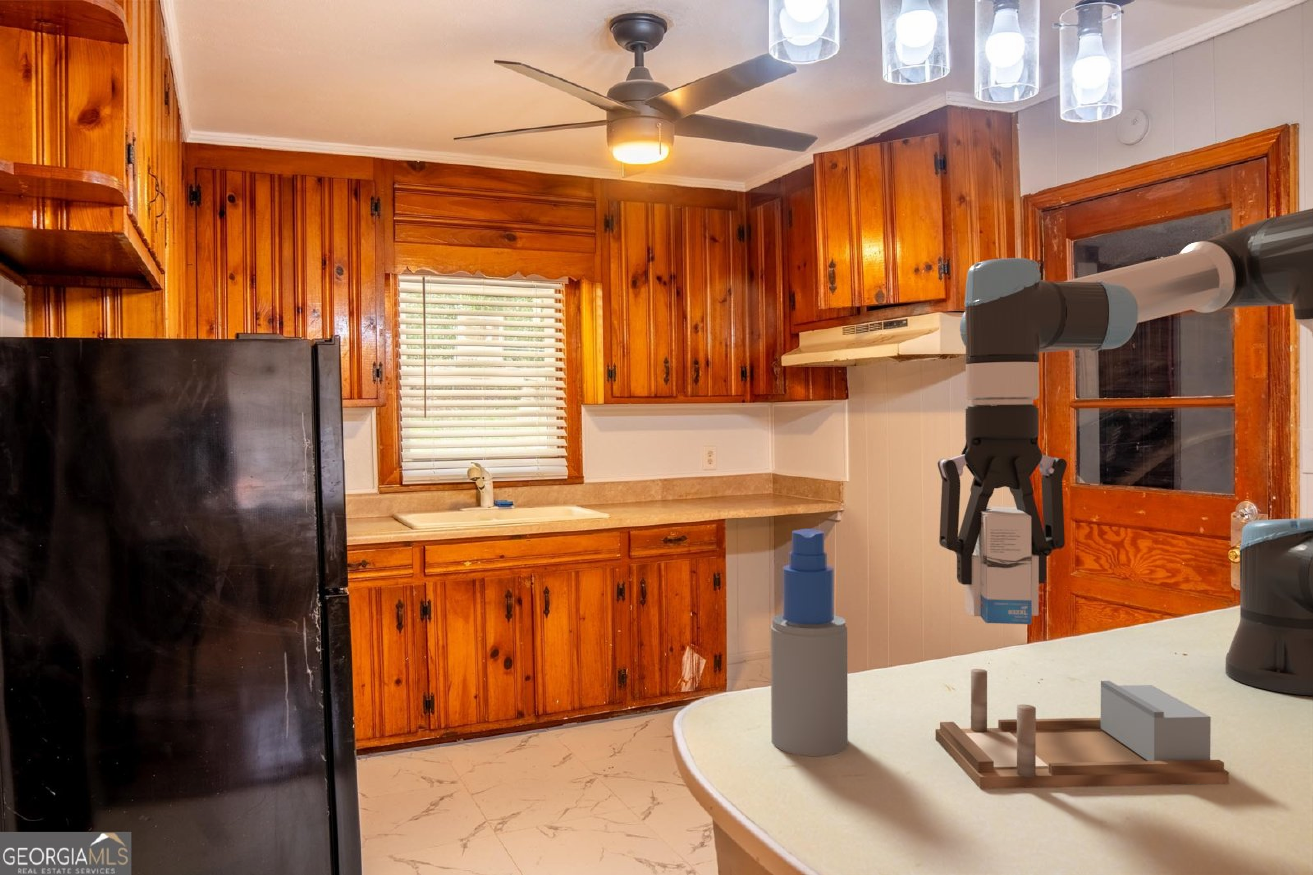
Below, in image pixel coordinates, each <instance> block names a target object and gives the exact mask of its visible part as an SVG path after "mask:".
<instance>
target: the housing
mask: <svg viewBox="0 0 1313 875" xmlns="http://www.w3.org/2000/svg"><path fill="white" fill-rule="evenodd" d="M1100 718H1101V729H1103V730H1104V731H1105V732H1107V733H1108V734H1110V735H1111V736H1113V737H1114V738H1116V739H1117V740H1119V741H1120V742H1121V743H1123V744H1124V745H1126V746H1127V747H1129V748H1130V749H1132V750H1133V751H1135V752H1136V753H1137V754H1139V755H1140V756H1142V757H1143V758H1145V759H1146V760H1148V761H1176V760H1211V729H1212V728H1211V724H1212V722H1211V721H1212V720H1211V718H1212V717H1211V716H1210V715H1208V714H1207V713H1205V712H1202V711H1201V710H1199V709H1197V708H1195V707H1193V706H1191V705H1189V704H1188V703H1186V702H1184V701H1182V700H1180V699H1178V698H1177V697H1175V696H1172V695H1171V694H1169V693H1167V692H1165V691H1163V690H1162V689H1160V688H1157V687H1156V686H1154V685H1153V684H1133V685H1130V684H1129V685H1125V684H1124V685H1118V684H1115V683H1114V682H1112V681H1110V680H1100Z"/></svg>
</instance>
